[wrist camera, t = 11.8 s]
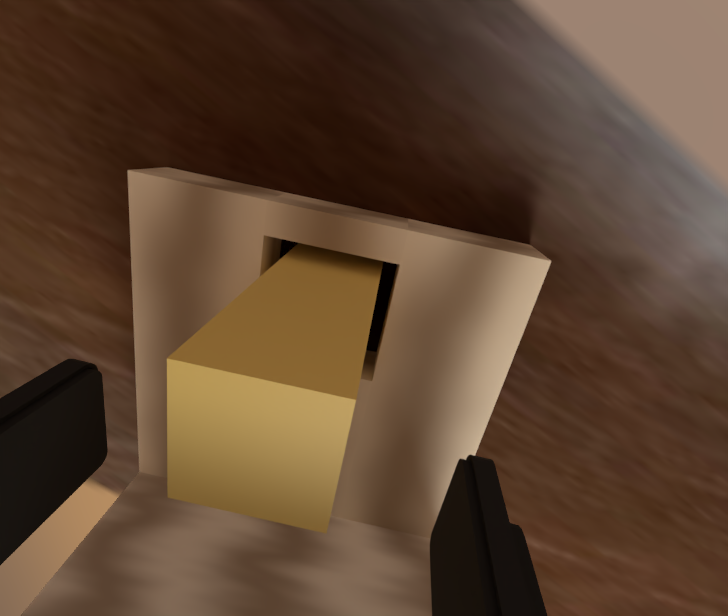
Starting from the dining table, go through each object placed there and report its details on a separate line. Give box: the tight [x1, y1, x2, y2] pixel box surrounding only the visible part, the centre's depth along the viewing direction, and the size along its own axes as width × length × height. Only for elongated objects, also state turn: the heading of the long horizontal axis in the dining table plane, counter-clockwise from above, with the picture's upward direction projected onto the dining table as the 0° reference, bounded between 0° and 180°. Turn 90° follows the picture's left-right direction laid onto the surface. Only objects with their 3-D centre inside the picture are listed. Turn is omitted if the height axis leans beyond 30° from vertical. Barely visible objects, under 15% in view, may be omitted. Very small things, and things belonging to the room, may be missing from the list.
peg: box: [167, 243, 383, 533], centre depth 15 cm, size 4×4×12 cm
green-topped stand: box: [21, 167, 551, 616], centre depth 14 cm, size 20×18×19 cm
